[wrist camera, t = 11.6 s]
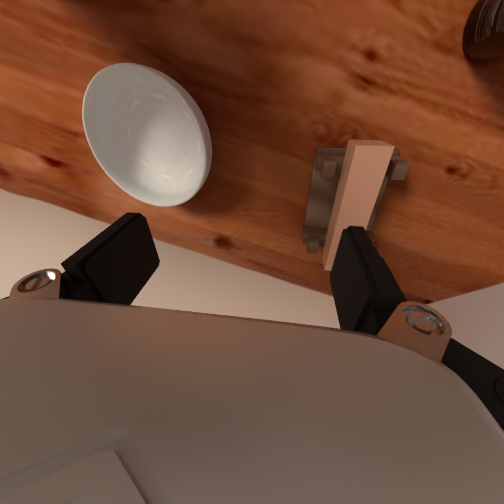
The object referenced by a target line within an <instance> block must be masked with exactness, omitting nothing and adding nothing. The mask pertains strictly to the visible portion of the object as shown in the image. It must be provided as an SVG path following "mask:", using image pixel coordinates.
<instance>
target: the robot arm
mask: <svg viewBox="0 0 504 504" xmlns="http://www.w3.org/2000/svg"><path fill="white" fill-rule="evenodd" d="M159 262H160V260H159V257H158V254H157V251H156V248H155V244H154V242H153V238H152V235H151V232H150V229H149V226H148V223H147V220H146V218H145V217H144V216H143V215H142V214H140V213H126V214H125V215H123V216H122V217H121V218H119V219H118V220H117V221H115V222H114V223H113V224H112V225H110V226H109V227H108V228H106V229H105V230H104V231H103V232H101V233H100V234H99V235H97V236H96V237H95V238H93V239H92V240H91V241H90V242H88V243H87V244H86V245H84V246H83V247H82V248H80V249H79V250H78V251H76V252H75V253H74V254H73V255H71V256H70V257H69V258H67V259H66V260H65V261H63V262H62V263H61V265H62V266H63V268H64V269H65V272H64V273H61V272H60V271H59V270H57V269H44V270H40V271H36V272H33V273H31V274H29V275H27V276H25V277H23V278H22V279H20V280H19V281H18V282H17V283H16V284H15V285H14V286H13V288H12V290H11V292H10V296H9V297H6V298H3V299H0V504H504V369H502V368H500V367H499V366H497V365H495V364H494V363H492V362H490V361H489V360H487V359H485V358H484V357H482V356H480V355H478V354H477V353H475V352H474V351H472V350H470V349H469V348H467V347H465V346H464V345H462V344H460V343H459V342H457V341H456V340H454V339H452V338H451V334H452V329H451V326H450V324H449V322H448V321H447V320H446V319H445V317H444V316H442V315H441V314H440V313H439V312H438V311H436V310H434V309H433V308H431V307H429V306H427V305H424V304H422V303H418V302H411V301H407V300H406V298H405V296H404V294H403V293H402V291H401V289H400V287H399V286H398V284H397V282H396V280H395V279H394V277H393V275H392V273H391V272H390V270H389V268H388V266H387V264H386V263H385V261H384V259H383V258H382V257H380V256H379V254H378V252H377V250H376V249H375V247H374V245H373V243H372V241H371V239H370V238H369V236H368V234H367V232H366V230H365V229H364V227H363V226H348V228H347V229H343V231H342V234H341V237H340V241H339V244H338V248H337V252H336V255H335V259H334V262H333V266H332V269H331V273H330V283H331V288H332V292H333V297H334V301H335V306H336V310H337V314H338V319H339V323H340V328H341V329H337V328H329V327H322V326H314V325H305V324H298V323H289V322H280V321H272V320H263V319H253V318H244V317H236V316H227V315H217V314H208V313H199V312H190V311H180V310H171V309H161V308H152V307H142V306H132V305H131V303H132V302H133V300H134V299H135V298H136V296H137V295H138V294H139V292H140V291H141V289H142V288H143V287H144V285H145V284H146V283H147V281H148V280H149V278H150V277H151V276H152V274H153V273H154V272H155V270H156V269H157V268H158V266H159Z"/></svg>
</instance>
